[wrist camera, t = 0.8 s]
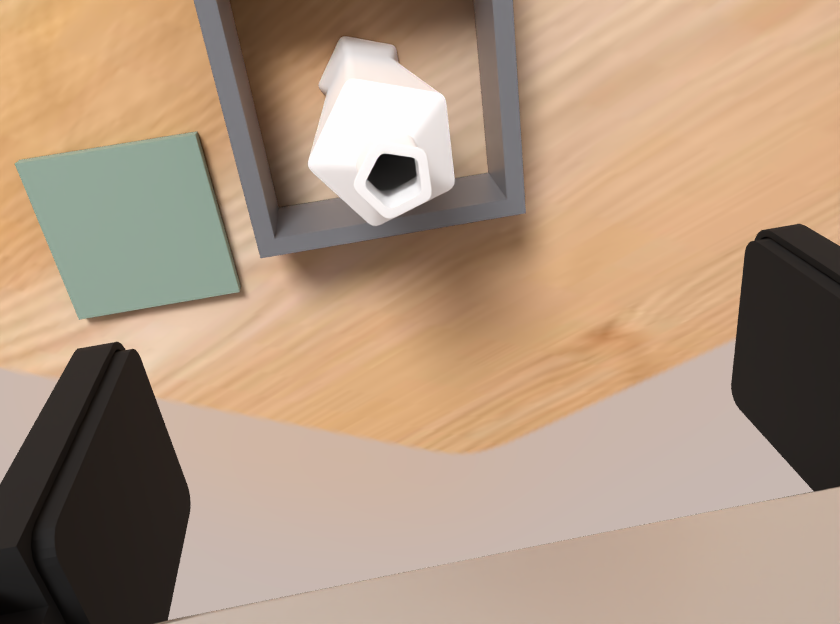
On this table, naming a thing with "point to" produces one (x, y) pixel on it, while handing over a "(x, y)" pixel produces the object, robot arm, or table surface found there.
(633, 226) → the table surface
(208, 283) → the mat
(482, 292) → the table surface
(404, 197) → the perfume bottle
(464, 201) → the bin
